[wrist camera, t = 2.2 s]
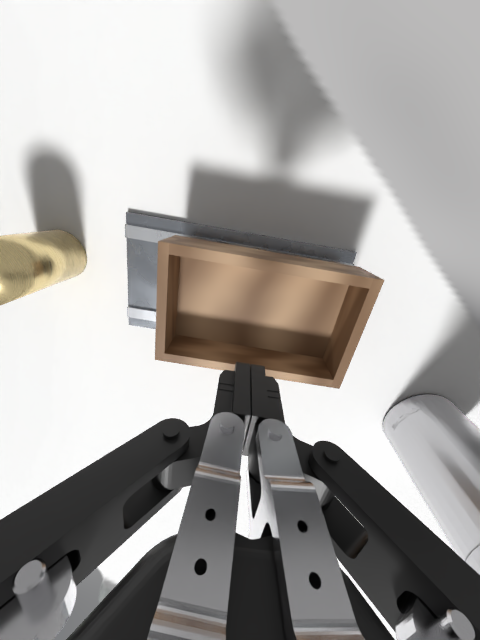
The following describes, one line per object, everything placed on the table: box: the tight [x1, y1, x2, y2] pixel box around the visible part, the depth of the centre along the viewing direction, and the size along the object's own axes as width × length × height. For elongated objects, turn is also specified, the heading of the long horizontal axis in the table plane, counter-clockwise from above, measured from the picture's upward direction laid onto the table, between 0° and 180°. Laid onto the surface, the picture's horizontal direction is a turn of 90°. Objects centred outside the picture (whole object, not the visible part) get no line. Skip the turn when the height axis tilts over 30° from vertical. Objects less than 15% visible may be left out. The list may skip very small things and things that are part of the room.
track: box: [125, 212, 357, 329], centre depth 26 cm, size 22×12×1 cm, turn 81°
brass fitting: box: [0, 230, 87, 305], centre depth 22 cm, size 5×5×9 cm
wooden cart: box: [155, 235, 384, 388], centre depth 23 cm, size 17×10×7 cm, turn 80°
